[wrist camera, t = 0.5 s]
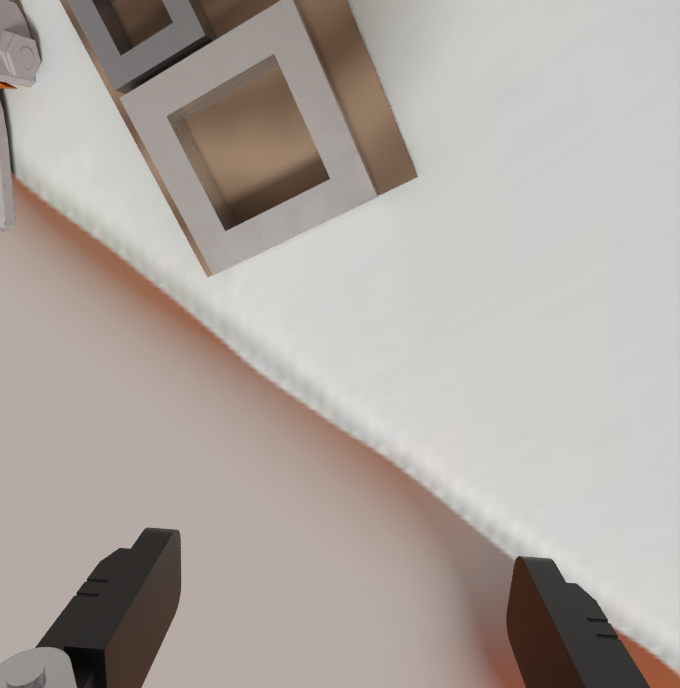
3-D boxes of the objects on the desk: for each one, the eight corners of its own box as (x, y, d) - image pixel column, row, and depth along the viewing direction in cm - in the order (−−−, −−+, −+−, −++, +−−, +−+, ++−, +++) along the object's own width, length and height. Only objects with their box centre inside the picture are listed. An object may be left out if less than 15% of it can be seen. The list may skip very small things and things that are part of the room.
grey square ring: (82, -8, 30) (54, -23, 27) (168, -66, 28) (146, -88, 26) (136, 97, 31) (114, 90, 29) (221, 46, 30) (205, 35, 27)
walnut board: (69, 3, 31) (58, -2, 30) (286, -145, 27) (282, -157, 26) (212, 274, 35) (207, 277, 34) (417, 176, 32) (417, 176, 31)
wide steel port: (140, 103, 31) (119, 98, 29) (299, 9, 29) (290, -6, 26) (226, 268, 34) (213, 275, 32) (379, 195, 31) (377, 196, 29)
